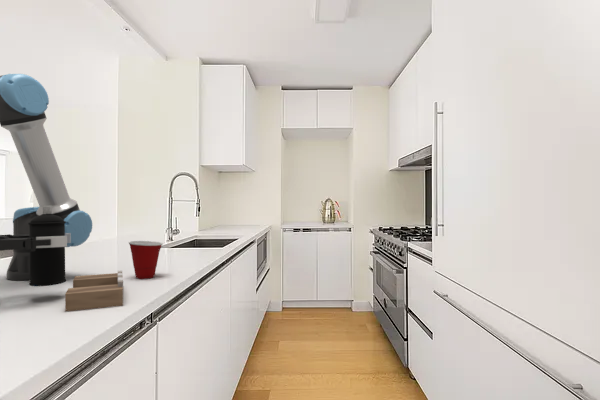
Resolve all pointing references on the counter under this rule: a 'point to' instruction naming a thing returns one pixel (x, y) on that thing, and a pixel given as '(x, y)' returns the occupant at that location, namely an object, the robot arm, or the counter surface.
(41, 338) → the counter surface
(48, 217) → the aerosol can
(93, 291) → the cutout stand
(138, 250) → the plastic cup
